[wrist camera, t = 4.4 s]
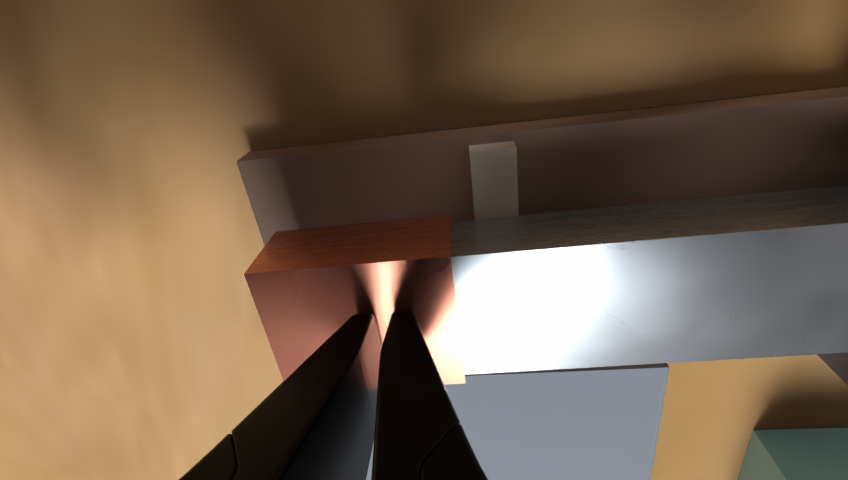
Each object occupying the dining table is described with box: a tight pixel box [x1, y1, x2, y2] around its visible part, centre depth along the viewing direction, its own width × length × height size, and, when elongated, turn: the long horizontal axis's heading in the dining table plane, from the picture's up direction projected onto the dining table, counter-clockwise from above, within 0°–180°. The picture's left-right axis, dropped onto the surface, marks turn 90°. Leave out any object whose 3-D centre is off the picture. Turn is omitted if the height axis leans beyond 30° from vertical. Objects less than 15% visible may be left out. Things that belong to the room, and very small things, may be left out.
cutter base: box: [237, 86, 848, 385], centre depth 10 cm, size 16×6×4 cm, turn 98°
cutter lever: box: [244, 185, 848, 384], centre depth 9 cm, size 15×3×2 cm, turn 97°
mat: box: [366, 363, 669, 480], centre depth 16 cm, size 10×10×1 cm
